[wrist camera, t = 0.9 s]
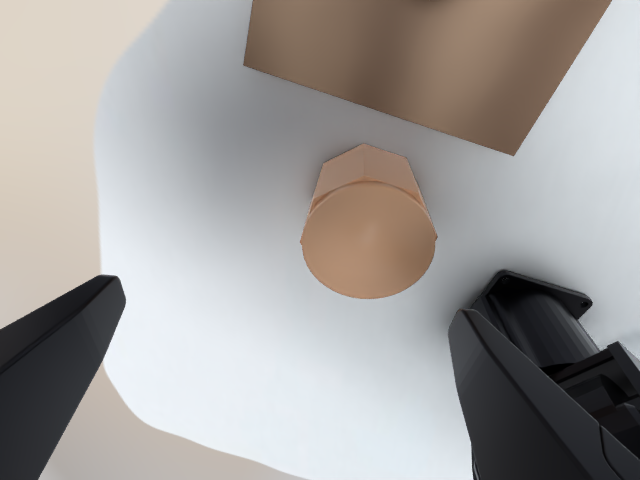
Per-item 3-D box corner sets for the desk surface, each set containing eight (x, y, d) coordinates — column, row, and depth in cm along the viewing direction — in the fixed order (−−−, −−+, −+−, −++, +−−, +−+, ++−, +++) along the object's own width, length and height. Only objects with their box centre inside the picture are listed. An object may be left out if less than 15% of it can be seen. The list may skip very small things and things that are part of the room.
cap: (436, 167, 19) (461, 213, 14) (393, 252, 22) (401, 312, 17) (332, 133, 18) (323, 169, 14) (304, 224, 22) (288, 278, 17)
